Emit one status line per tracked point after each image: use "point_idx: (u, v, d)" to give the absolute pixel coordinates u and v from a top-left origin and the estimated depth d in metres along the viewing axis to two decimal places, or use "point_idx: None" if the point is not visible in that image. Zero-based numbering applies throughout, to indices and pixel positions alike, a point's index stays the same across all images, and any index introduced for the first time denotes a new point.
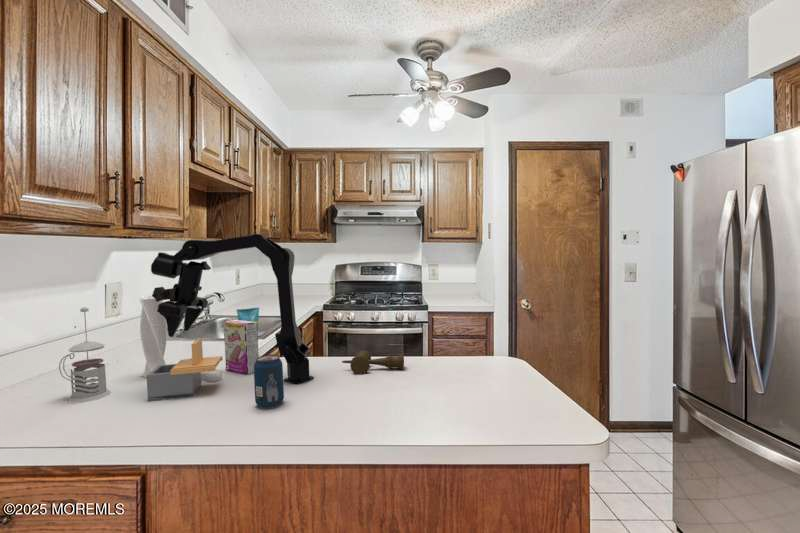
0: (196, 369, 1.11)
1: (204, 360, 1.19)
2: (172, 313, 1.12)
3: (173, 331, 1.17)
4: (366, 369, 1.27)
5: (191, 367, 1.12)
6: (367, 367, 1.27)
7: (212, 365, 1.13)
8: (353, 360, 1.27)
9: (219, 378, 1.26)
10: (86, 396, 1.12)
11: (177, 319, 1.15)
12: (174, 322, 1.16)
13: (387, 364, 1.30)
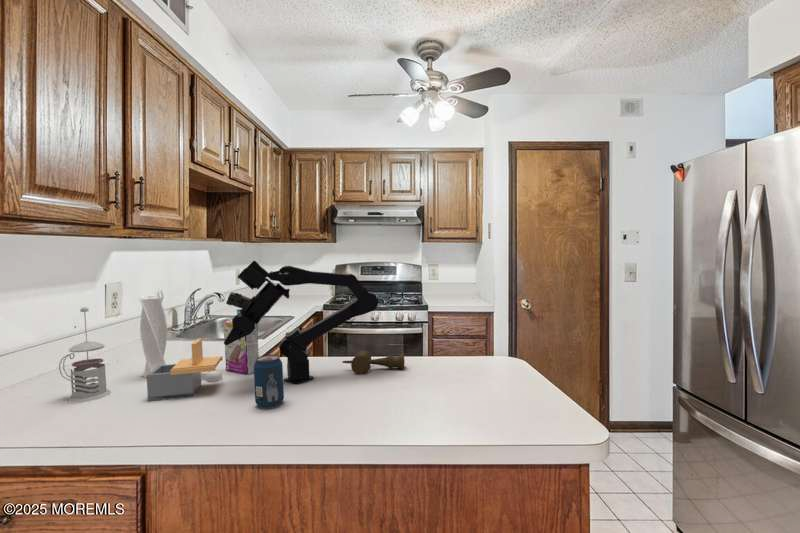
0: (196, 369, 1.11)
1: (204, 360, 1.19)
2: (246, 329, 1.11)
3: (231, 341, 1.14)
4: (367, 369, 1.27)
5: (191, 367, 1.12)
6: (368, 367, 1.27)
7: (212, 365, 1.13)
8: (354, 360, 1.27)
9: (219, 378, 1.26)
10: (86, 396, 1.12)
11: (243, 333, 1.14)
12: (238, 334, 1.14)
13: (388, 364, 1.30)
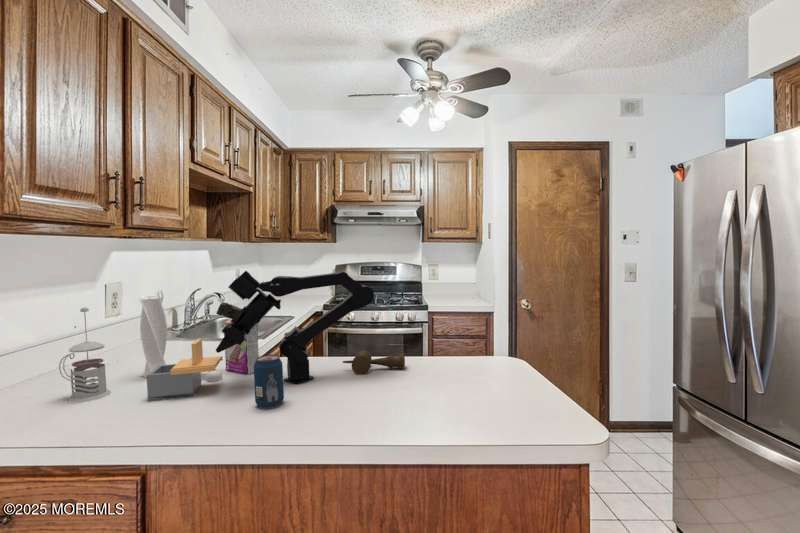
0: (196, 369, 1.11)
1: (204, 360, 1.19)
2: (235, 340, 1.10)
3: (223, 349, 1.18)
4: (367, 369, 1.27)
5: (191, 367, 1.12)
6: (368, 367, 1.27)
7: (212, 365, 1.13)
8: (354, 360, 1.27)
9: (219, 378, 1.26)
10: (86, 396, 1.12)
11: (234, 341, 1.17)
12: (229, 342, 1.17)
13: (388, 364, 1.30)
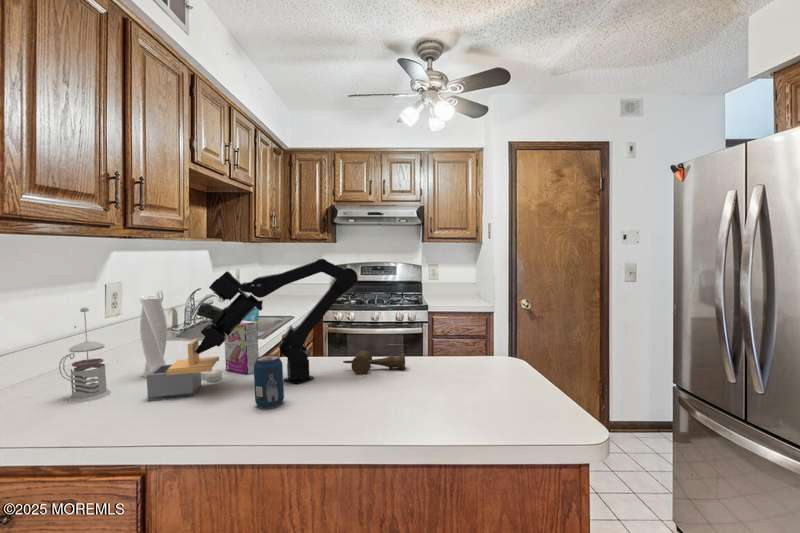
0: (192, 369, 1.11)
1: (200, 360, 1.18)
2: (214, 341, 1.09)
3: (203, 350, 1.16)
4: (367, 369, 1.27)
5: (187, 367, 1.12)
6: (368, 367, 1.27)
7: (208, 365, 1.13)
8: (354, 360, 1.27)
9: (219, 378, 1.26)
10: (86, 396, 1.12)
11: None
12: (210, 343, 1.16)
13: (388, 364, 1.30)
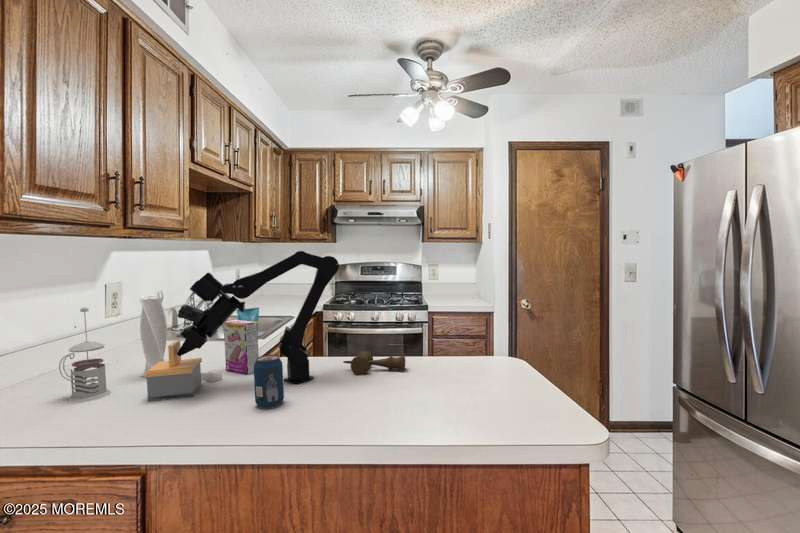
0: (172, 371, 1.10)
1: (182, 362, 1.17)
2: (194, 343, 1.08)
3: (184, 352, 1.15)
4: (366, 370, 1.27)
5: (167, 369, 1.10)
6: (367, 368, 1.27)
7: (189, 367, 1.12)
8: (353, 360, 1.27)
9: (219, 378, 1.26)
10: (86, 396, 1.12)
11: None
12: (191, 345, 1.15)
13: (388, 365, 1.29)
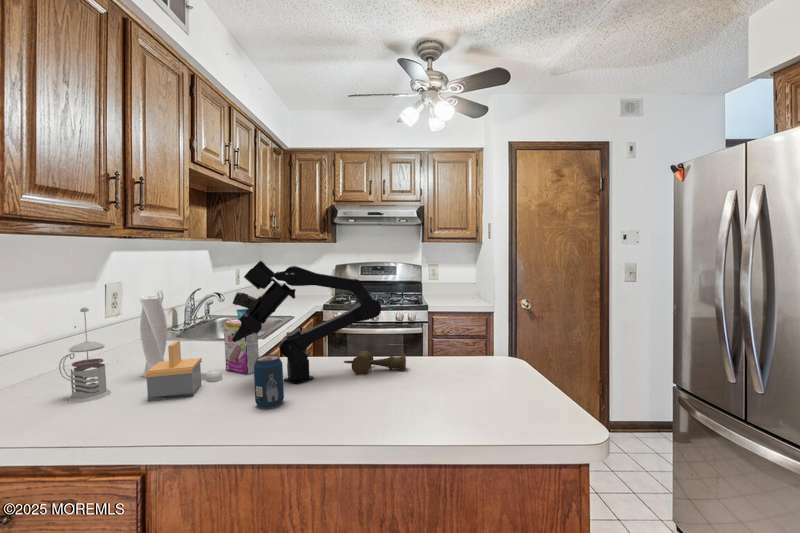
0: (172, 371, 1.10)
1: (182, 362, 1.17)
2: (252, 329, 1.11)
3: (239, 338, 1.19)
4: (367, 370, 1.27)
5: (167, 369, 1.10)
6: (368, 368, 1.27)
7: (189, 367, 1.12)
8: (354, 360, 1.27)
9: (219, 378, 1.26)
10: (86, 396, 1.12)
11: (251, 330, 1.18)
12: (246, 331, 1.18)
13: (388, 365, 1.29)
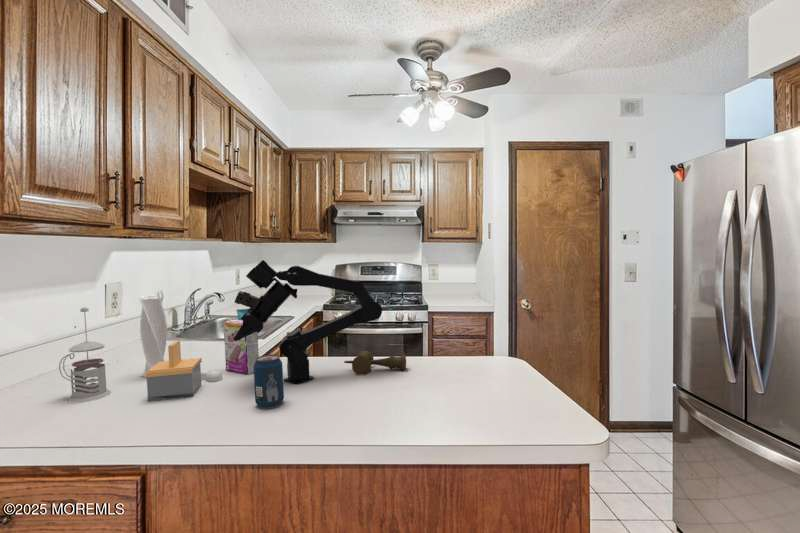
0: (172, 371, 1.10)
1: (182, 362, 1.17)
2: (254, 328, 1.11)
3: (241, 337, 1.19)
4: (368, 369, 1.27)
5: (167, 369, 1.10)
6: (369, 367, 1.27)
7: (189, 367, 1.12)
8: (355, 360, 1.27)
9: (219, 378, 1.26)
10: (86, 396, 1.12)
11: (252, 329, 1.18)
12: (247, 330, 1.18)
13: (389, 365, 1.29)
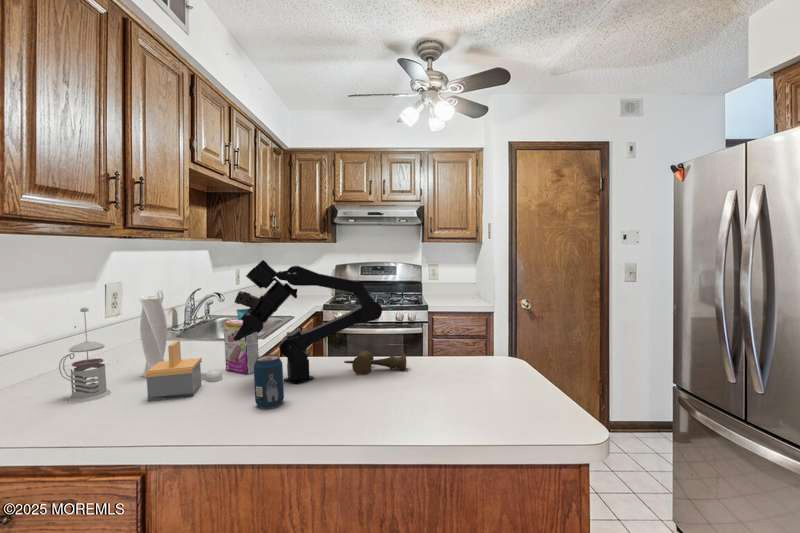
0: (172, 371, 1.10)
1: (182, 362, 1.17)
2: (254, 328, 1.11)
3: (241, 337, 1.19)
4: (368, 369, 1.27)
5: (167, 369, 1.10)
6: (369, 367, 1.27)
7: (189, 367, 1.12)
8: (355, 360, 1.27)
9: (219, 378, 1.26)
10: (86, 396, 1.12)
11: (252, 329, 1.18)
12: (247, 330, 1.18)
13: (389, 365, 1.29)
